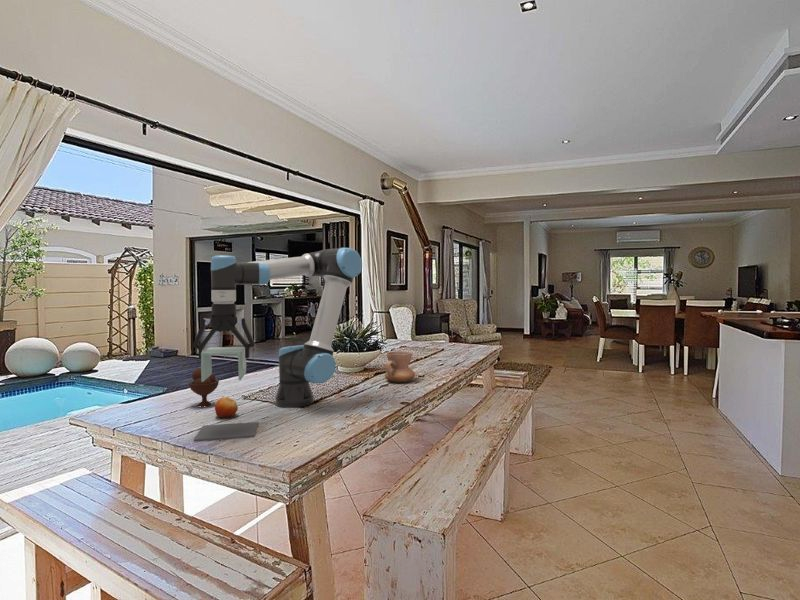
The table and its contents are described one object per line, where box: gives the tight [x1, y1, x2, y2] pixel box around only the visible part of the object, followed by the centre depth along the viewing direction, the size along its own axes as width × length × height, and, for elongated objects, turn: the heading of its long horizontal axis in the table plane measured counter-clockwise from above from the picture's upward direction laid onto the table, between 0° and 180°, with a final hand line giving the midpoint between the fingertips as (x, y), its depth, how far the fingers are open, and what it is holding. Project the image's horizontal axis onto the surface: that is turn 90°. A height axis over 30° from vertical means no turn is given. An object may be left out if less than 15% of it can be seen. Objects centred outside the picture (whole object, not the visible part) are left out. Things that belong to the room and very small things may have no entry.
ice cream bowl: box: [188, 367, 220, 408], centre depth 185 cm, size 11×11×15 cm
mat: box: [193, 421, 259, 442], centre depth 154 cm, size 18×14×1 cm
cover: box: [200, 346, 247, 382], centre depth 154 cm, size 12×12×9 cm
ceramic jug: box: [384, 350, 416, 384], centre depth 226 cm, size 18×14×14 cm
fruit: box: [214, 396, 239, 419], centre depth 170 cm, size 8×8×8 cm
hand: (224, 368), depth 154 cm, fingers closed on cover, 12 cm apart
